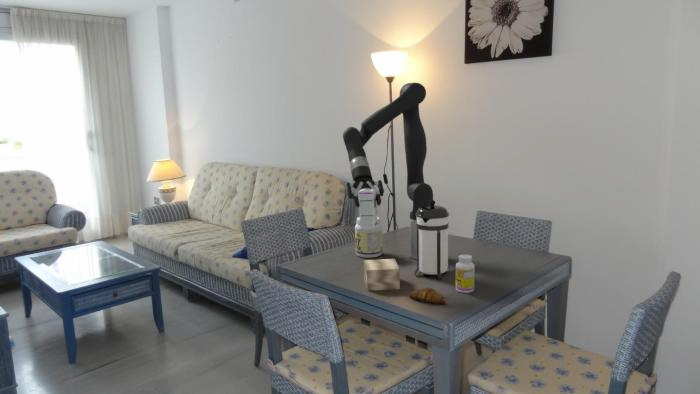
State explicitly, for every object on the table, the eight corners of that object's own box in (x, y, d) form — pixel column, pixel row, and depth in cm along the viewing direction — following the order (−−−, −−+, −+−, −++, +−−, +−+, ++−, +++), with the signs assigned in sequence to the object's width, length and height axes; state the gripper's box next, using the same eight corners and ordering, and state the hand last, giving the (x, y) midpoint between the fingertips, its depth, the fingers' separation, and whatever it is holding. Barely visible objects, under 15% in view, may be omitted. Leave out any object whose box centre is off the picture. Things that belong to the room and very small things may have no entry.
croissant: (449, 301, 173) (449, 288, 172) (441, 308, 168) (441, 294, 167) (414, 294, 181) (414, 281, 180) (405, 300, 175) (405, 287, 174)
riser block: (394, 278, 197) (394, 258, 196) (399, 289, 186) (399, 268, 184) (364, 279, 197) (363, 260, 195) (367, 291, 185) (366, 270, 184)
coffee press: (459, 278, 195) (460, 202, 189) (419, 281, 192) (419, 204, 187) (444, 264, 211) (444, 194, 206) (407, 267, 209) (406, 196, 203)
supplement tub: (352, 252, 233) (351, 216, 230) (377, 249, 236) (376, 214, 233) (360, 259, 221) (359, 222, 218) (386, 256, 225) (385, 219, 221)
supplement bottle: (453, 287, 185) (453, 253, 183) (470, 286, 186) (471, 252, 184) (458, 294, 179) (458, 259, 176) (476, 293, 179) (477, 258, 177)
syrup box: (375, 228, 189) (373, 190, 186) (359, 228, 190) (358, 190, 187) (377, 224, 194) (376, 187, 191) (362, 224, 195) (361, 187, 193)
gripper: (343, 166, 193) (351, 201, 185) (379, 163, 196) (388, 198, 187) (341, 177, 200) (349, 212, 191) (376, 175, 202) (385, 209, 193)
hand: (368, 205), depth 189 cm, fingers closed on syrup box, 7 cm apart
